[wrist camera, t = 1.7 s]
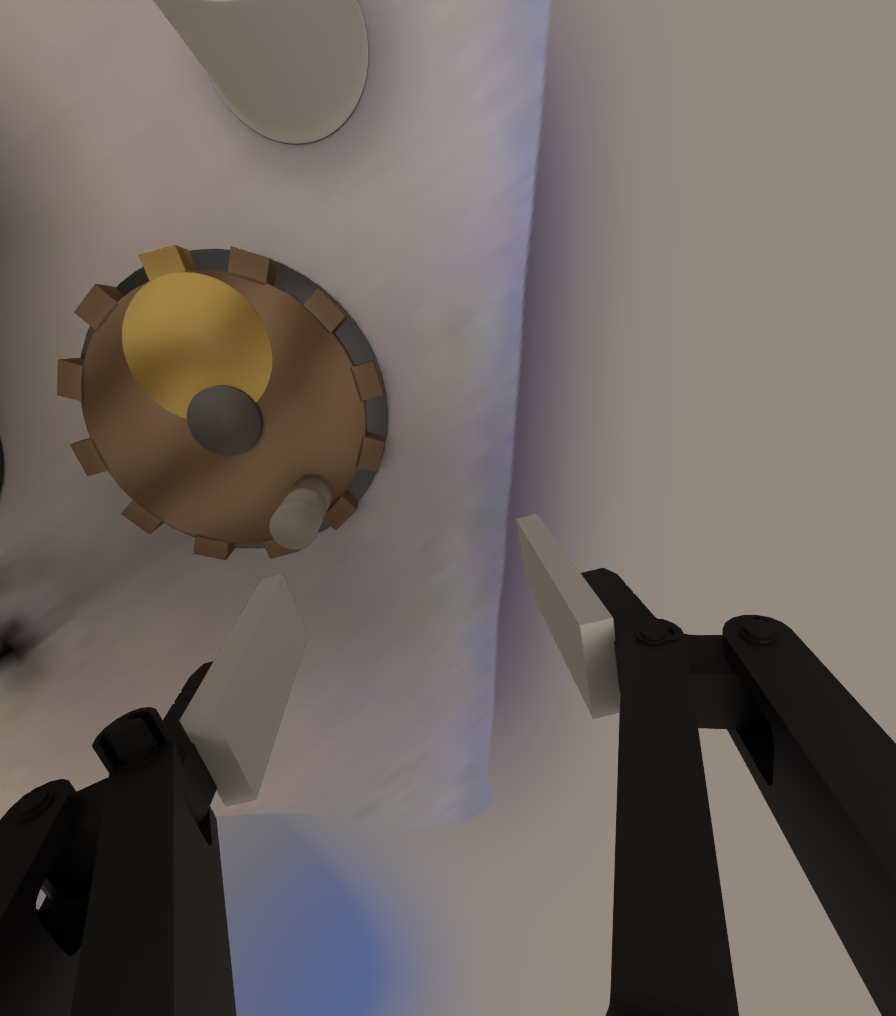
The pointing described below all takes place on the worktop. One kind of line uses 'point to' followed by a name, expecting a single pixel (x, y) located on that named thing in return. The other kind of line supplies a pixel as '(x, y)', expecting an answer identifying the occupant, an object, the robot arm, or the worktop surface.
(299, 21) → the mug
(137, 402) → the sprocket
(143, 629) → the worktop surface
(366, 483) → the base plate
